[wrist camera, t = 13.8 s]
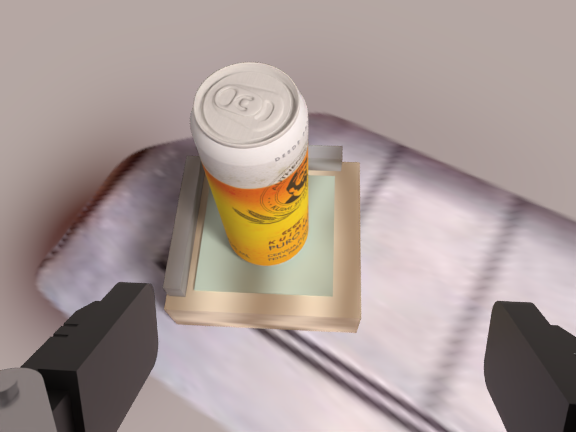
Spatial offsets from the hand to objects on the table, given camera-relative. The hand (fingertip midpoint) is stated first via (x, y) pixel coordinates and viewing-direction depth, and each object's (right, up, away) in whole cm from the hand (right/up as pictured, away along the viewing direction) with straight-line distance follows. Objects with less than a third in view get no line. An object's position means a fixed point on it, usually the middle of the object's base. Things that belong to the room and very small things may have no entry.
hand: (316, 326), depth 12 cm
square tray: (-2, 0, +30) cm, 30 cm away
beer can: (-2, +1, +26) cm, 26 cm away
